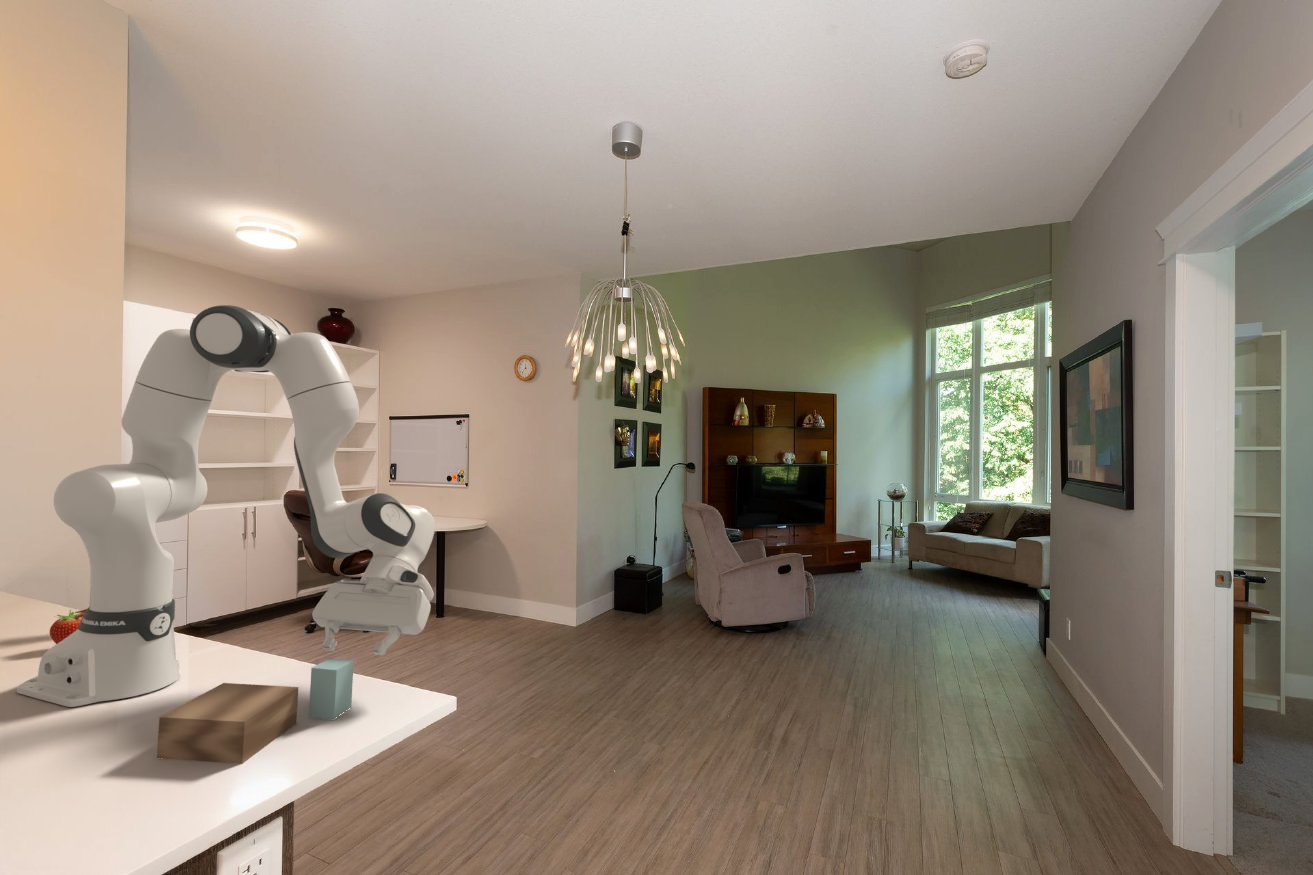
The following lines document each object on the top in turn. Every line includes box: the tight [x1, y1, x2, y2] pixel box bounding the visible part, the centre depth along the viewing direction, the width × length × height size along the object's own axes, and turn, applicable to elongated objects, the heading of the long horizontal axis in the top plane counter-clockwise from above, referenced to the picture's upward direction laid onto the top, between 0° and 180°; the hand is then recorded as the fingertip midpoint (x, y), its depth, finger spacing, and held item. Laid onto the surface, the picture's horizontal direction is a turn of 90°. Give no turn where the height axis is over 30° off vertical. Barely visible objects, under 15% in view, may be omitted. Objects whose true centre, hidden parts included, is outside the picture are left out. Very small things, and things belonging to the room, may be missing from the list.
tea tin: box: [308, 657, 354, 720], centre depth 99 cm, size 4×4×8 cm
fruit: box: [49, 609, 83, 645], centre depth 121 cm, size 5×5×8 cm
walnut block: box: [156, 682, 299, 764], centre depth 89 cm, size 12×12×6 cm
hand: (352, 651), depth 104 cm, fingers open, 8 cm apart
